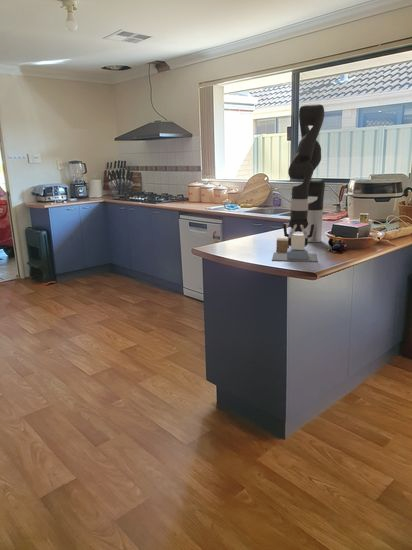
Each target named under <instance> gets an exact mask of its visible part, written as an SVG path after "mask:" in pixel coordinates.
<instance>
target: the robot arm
mask: <svg viewBox="0 0 412 550" xmlns="http://www.w3.org/2000/svg"><path fill="white" fill-rule="evenodd" d="M298 119H299V122H298V123H299V129H300V136H301V139H300V141H299V142H298V145H297V150H296V154H295V157H294V158H293V159H292V161H291V163H290V165H289V167H288V171H287V172H288V177H289V178H290V179H291V180H303V182H301V183H300V184H295V185H293V186H292V187H291V202H290V214H289V215H290V216H289V217H290V219H289V222H284V223H283V224H282V225H283V226H282V227H283V234H284V235H283V236H284V238H288V245H289V247H291V235H292V234H295V233H296V232H298V233H302V234H304V236H305V248H306V247H307V245H308V244H309V243H320V242H322V234H323V233H322V231H323V217H324V214H323V213H324V199H325V198H324V197H325V189H326V188H325V187H326V183H325V180H324V179H323V178H322V179H321V178H313V174H314V171H315V170H316V169H317V167H318V166H319V165H320V163H321V160H322V147H321V144H320V143H319V141H318V136H319V134H320V132H321V129H322V126H323V123H324V119H325V107H324V105H323V104H318V103H317V104H316V103H315V104H311V103H310V104H302V105H301V106H300V107H299V111H298ZM311 126H312V127H311ZM309 127H311V128H309ZM309 197H310V198H311V197H313V198H314V197H316V200H313V201H312V202H309ZM289 227H290V228H291V230H290V232H289V233H288V231H287V230H288V228H289ZM294 232H295V233H294Z"/></svg>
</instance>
